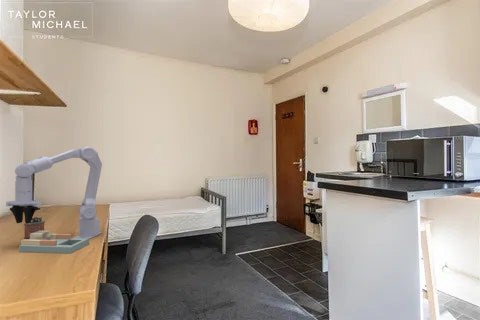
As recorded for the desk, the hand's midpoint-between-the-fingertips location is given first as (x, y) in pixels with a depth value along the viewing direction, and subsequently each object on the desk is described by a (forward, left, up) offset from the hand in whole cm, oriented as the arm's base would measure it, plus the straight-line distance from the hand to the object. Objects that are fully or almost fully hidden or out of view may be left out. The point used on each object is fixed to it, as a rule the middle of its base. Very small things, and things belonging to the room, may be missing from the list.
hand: (23, 222), depth 115 cm
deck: (0, +15, -10) cm, 18 cm away
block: (0, +8, -8) cm, 11 cm away
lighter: (-13, -6, -11) cm, 18 cm away
